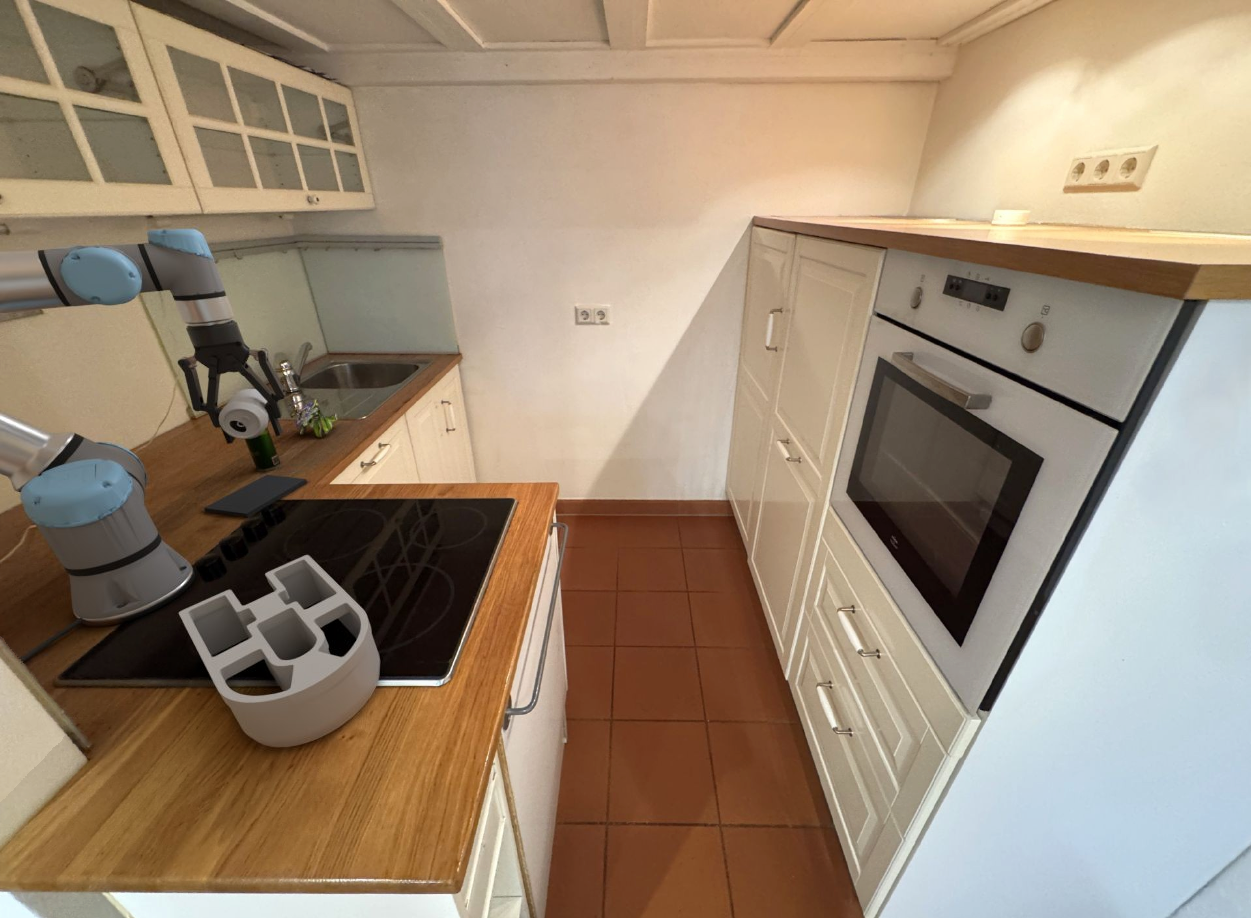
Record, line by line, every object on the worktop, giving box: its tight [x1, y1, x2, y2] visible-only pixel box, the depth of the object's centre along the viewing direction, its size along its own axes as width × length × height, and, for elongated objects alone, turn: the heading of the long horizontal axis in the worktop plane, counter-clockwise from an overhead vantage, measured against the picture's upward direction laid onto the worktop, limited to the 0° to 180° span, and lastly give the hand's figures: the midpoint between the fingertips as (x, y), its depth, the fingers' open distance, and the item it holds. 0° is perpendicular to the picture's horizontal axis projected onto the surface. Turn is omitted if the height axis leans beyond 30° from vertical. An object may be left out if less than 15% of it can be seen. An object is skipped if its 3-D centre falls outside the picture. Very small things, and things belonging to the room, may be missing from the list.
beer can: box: [244, 426, 281, 473], centre depth 127 cm, size 5×5×12 cm
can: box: [219, 388, 271, 440], centre depth 99 cm, size 8×8×12 cm
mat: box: [203, 474, 308, 518], centre depth 116 cm, size 16×12×1 cm
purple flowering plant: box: [290, 398, 339, 438], centre depth 149 cm, size 11×11×12 cm
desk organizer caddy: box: [178, 554, 381, 748], centre depth 68 cm, size 17×28×9 cm, turn 50°
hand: (255, 437), depth 101 cm, fingers closed on can, 7 cm apart
